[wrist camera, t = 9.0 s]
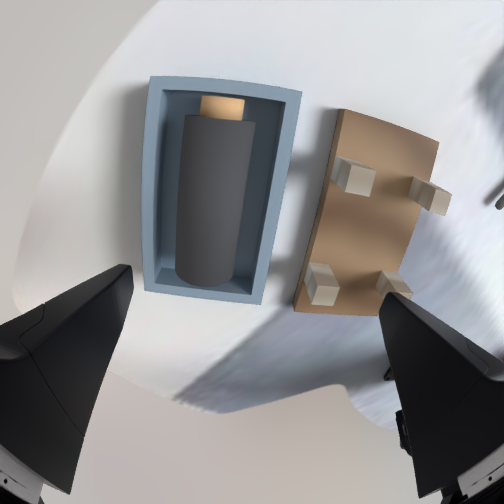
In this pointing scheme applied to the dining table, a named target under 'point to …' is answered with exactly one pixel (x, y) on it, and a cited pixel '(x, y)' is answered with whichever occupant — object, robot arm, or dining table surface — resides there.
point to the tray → (257, 186)
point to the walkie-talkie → (500, 203)
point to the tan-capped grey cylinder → (212, 190)
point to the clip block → (367, 216)
